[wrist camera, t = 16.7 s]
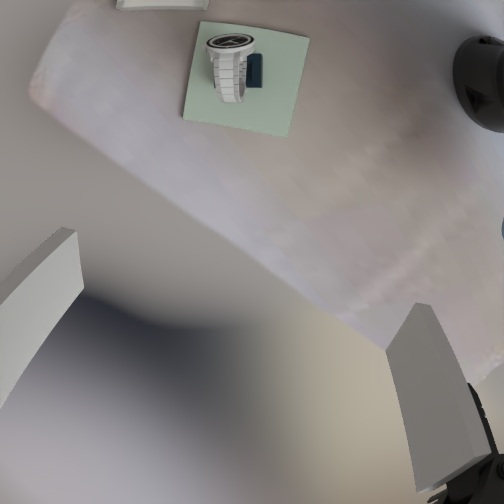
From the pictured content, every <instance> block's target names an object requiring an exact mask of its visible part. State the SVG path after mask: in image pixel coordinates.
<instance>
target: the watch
mask: <svg viewBox="0 0 504 504" xmlns="http://www.w3.org/2000/svg"><path fill="white" fill-rule="evenodd" d="M254 43H255V38H254V37H252V36H250V35H246V34H238V33H234V34H224V35H219V36H216V37H213V38H211V39H209V40H207V41H206V43H205V44H203V45H202V50H203V51H207V53H208V55H209V58H210V61H211V62H214V88H216V91H217V95H218V98H219V100H220V101H221V102H222V103H242V102H243V101H244V97H245V93H246V92H247V89H246V88H262V85H263V56H262V54H261V53H253V51H254V49H255V46H254Z"/></svg>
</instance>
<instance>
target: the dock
mask: <svg viewBox="0 0 504 504" xmlns="http://www.w3.org/2000/svg"><path fill="white" fill-rule="evenodd" d="M208 2H209V0H117V4H116V9H119V10H121V11H136V10H198V11H207V7H208Z"/></svg>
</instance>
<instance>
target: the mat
mask: <svg viewBox="0 0 504 504" xmlns="http://www.w3.org/2000/svg"><path fill="white" fill-rule="evenodd" d="M234 33H238V34H246V35H250V36H252V37H254V38H255V43H254V46H255V49H254V51H253V53H261V54H262V56H263V85H262V88H246V89H247V92H246V93H245V97H244V101H243V102H242V103H222V102H221V101H220V100H219V98H218V95H217V91H216V88H214V62H211V61H210V58H209V55H208V53H207V51H203V50H202V45H203V44H205V43H206V41H207V40H209V39H211V38H213V37H216V36H219V35H224V34H234ZM309 41H310V38H306V37H302V36H298V35H293V34H288V33H284V32H279V31H273V30H268V29H262V28H256V27H249V26H242V25H234V24H225V23H215V22H203V21H201V23H200V27H199V32H198V36H197V41H196V46H195V51H194V56H193V61H192V66H191V72H190V77H189V83H188V89H187V95H186V101H185V107H184V113H183V120H190V121H197V122H204V123H210V124H216V125H222V126H228V127H234V128H239V129H244V130H250V131H255V132H260V133H264V134H269V135H274V136H278V137H283V138H287V136H288V132H289V128H290V124H291V119H292V115H293V111H294V106H295V102H296V98H297V93H298V89H299V85H300V80H301V76H302V72H303V67H304V63H305V59H306V54H307V50H308V45H309Z"/></svg>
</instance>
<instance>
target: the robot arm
mask: <svg viewBox="0 0 504 504" xmlns="http://www.w3.org/2000/svg"><path fill="white" fill-rule="evenodd" d="M453 78H454V85H455V89H456V92H457V95H458V98H459V100H460V103H461V105H462V106H463V108H464V110H465V111H466V113H467V114H468V115H469V117H470V118H471V119H472V120H473V121H474V122H475V123H477V124H478V125H480V126H481V127H483V128H485V129H488V130H491V131H494V132H499V133H504V41H502V40H500V39H497V38H495V37H491V36H478V37H472V38H469V39H468V40H466V41H465V42H463V43H462V44H461V46H460V47H459V49H458V51H457V53H456V55H455V59H454V65H453ZM502 236H503V239H504V219H503V223H502ZM83 288H84V286H83V279H82V272H81V265H80V257H79V249H78V239H77V230H73V229H68V228H64V227H61V228H60V229H59V230H57V231H56V232H55V233H54V234H52V235H51V236H50V237H49V238H48V239H47V240H45V241H44V242H43V243H42V244H41V245H40V246H39V247H37V248H36V249H35V250H34V251H33V252H32V253H31V254H29V255H28V256H27V257H26V258H25V259H24V260H23V261H22V262H21V263H20V264H19V265H17V266H16V267H15V268H14V269H13V270H12V271H11V272H10V273H9V274H8V275H7V276H6V277H5V278H4V279H3V280H2V281H1V282H0V409H1V407H2V405H3V404H4V402H5V400H6V399H7V397H8V395H9V394H10V392H11V390H12V389H13V387H14V385H15V384H16V382H17V381H18V379H19V378H20V376H21V374H22V373H23V371H24V370H25V368H26V366H27V365H28V364H29V362H30V361H31V359H32V358H33V356H34V355H35V353H36V352H37V350H38V349H39V347H40V346H41V345H42V343H43V342H44V340H45V339H46V337H47V336H48V334H49V333H50V332H51V330H52V329H53V328H54V326H55V325H56V324H57V322H58V321H59V319H60V318H61V317H62V315H63V314H64V313H65V311H66V310H67V309H68V308H69V306H70V305H71V304H72V302H73V301H74V300H75V298H76V297H77V296H78V295H79V293H80V292H81V291H82V289H83ZM386 355H387V358H388V362H389V365H390V369H391V373H392V376H393V380H394V384H395V388H396V392H397V395H398V400H399V404H400V408H401V412H402V417H403V421H404V426H405V430H406V435H407V440H408V445H409V450H410V455H411V461H412V466H413V472H414V478H415V485H416V491H417V493H422V492H427V491H432V490H435V489H437V488H439V487H440V486H442V485H443V484H445V483H446V485H447V489H445V490H443V491H441V492H440V493H438V494H436V495H434V496H432V497H431V498H430V499H429V500H428V501H427V503H430V502H432V501H434V500H436V499H438V498H439V499H438V501H436V502H435V503H434V504H504V454H499V453H498V450H497V447H496V444H495V441H494V438H493V435H492V432H491V429H490V426H489V423H488V420H487V418H485V412H484V410H483V408H482V404H481V402H480V399H479V397H478V394H477V393H476V391H475V390H474V389H473V387H472V386H471V385H470V383H467V382H466V380H465V377H464V375H463V372H462V370H461V368H460V365H459V363H458V361H457V359H456V356H455V354H454V352H453V350H452V348H451V346H450V343H449V341H448V339H447V337H446V335H445V333H444V331H443V329H442V327H441V325H440V323H439V321H438V319H437V317H436V315H435V313H434V311H433V309H432V307H431V305H427V304H421V303H415V304H414V306H413V308H412V310H411V311H410V313H409V315H408V316H407V318H406V320H405V321H404V323H403V325H402V326H401V328H400V329H399V331H398V333H397V334H396V336H395V337H394V339H393V340H392V342H391V343H390V345H389V346H388V348H387V349H386Z"/></svg>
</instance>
